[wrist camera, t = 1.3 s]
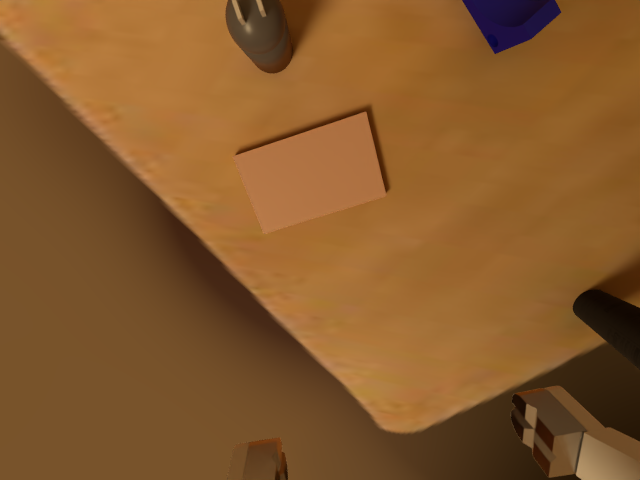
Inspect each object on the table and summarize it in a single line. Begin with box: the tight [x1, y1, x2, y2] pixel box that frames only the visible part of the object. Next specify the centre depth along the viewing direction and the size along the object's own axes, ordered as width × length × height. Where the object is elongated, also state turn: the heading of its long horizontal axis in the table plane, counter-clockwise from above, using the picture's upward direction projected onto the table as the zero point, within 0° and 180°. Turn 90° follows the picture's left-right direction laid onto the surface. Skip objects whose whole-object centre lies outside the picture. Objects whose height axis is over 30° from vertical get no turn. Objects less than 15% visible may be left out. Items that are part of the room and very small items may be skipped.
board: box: [233, 112, 386, 234], centre depth 36 cm, size 16×10×1 cm, turn 107°
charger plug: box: [226, 0, 293, 73], centre depth 26 cm, size 5×5×12 cm
